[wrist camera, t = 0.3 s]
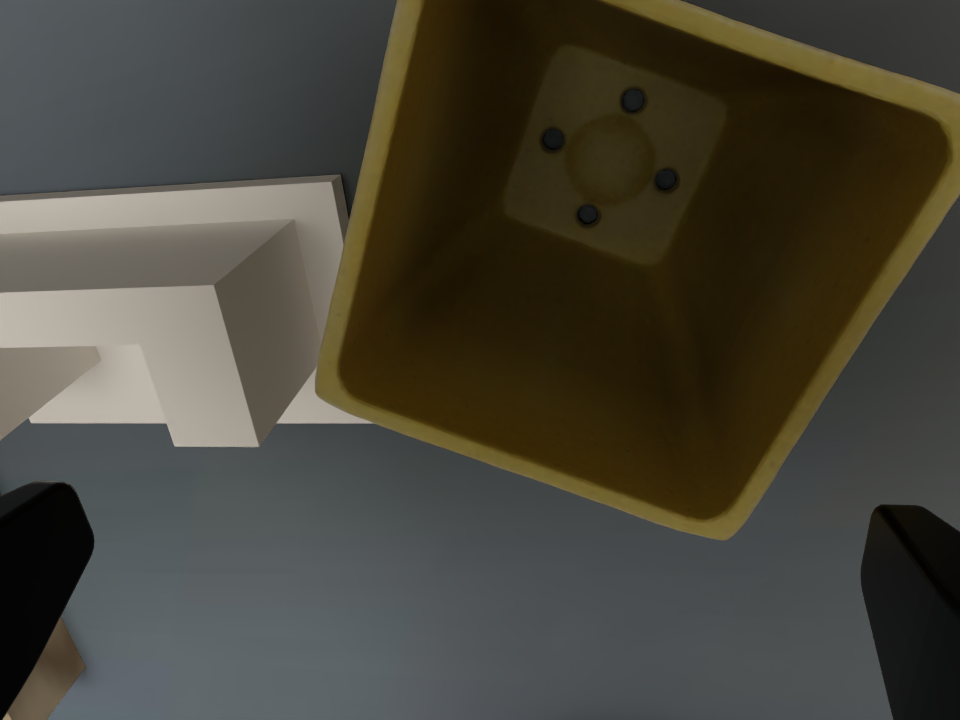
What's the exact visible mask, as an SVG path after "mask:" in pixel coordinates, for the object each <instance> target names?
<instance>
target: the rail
mask: <svg viewBox="0 0 960 720" xmlns="http://www.w3.org/2000/svg"><path fill="white" fill-rule="evenodd" d="M0 496H1V494H0ZM84 668H85V665H84V663H83V661H82V659H81V657H80V655H79V653H78V651H77V648H76V646H75V644H74V642H73V640H72V638H71V636H70V634H69V632H68V630H67V628H66V626H65V624H64V622H63V620H62V618H61V617H60V619H59V621H58V623H57V625H56V627H55V629H54V631H53V633H52V635H51V637H50V639H49V641H48V643H47V645H46V647H45V649H44V650H43V652H42V654H41V656H40V658H39V660H38V662H37V664H36V665H35V667H34V669H33V671H32V673H31V674H30V676H29V678H28V679H27V681H26V683H25V684H24V686H23V688H22V689H21V691H20V693H19V694H18V696H17V698H16V699H15V701H14V702H13V704H12V706H11V707H10V709H9V710H8V712H7V714H6V715H5V717H4V718H3V720H47V718H48V717H49V716H50V714H51V713H52V712H53V710H54V709H55V708H56V706H57V705H58V704H59V702H60V701H61V700H62V698H63V697H64V696H65V694H66V693H67V691H68V690H69V689H70V687H71V686H72V685H73V683H74V682H75V681H76V679H77V678H78V677H79V675H80V674H81V673H82V671H83V670H84Z"/></svg>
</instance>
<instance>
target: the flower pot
mask: <svg viewBox="0 0 960 720" xmlns="http://www.w3.org/2000/svg"><path fill="white" fill-rule="evenodd" d="M631 89H637V90H639V91H641V93H642V94H643V96H644V104H643V106H642V107H641V108H640V109H639V110H638V111H636V112H629V111H627V110H625V108H624V107H623V105H622V98H623V95H624V94H625V93H626V92H627V91H628V90H631ZM551 129H556V130H558V131H560V132H561V133H562V135H563V138H564V142H563V145H562V147H560V148H559V149H557V150H549V149H548V148H546V147H545V145H544V143H543V136H544V134H545V132H547V131H548V130H551ZM665 169H669V170H672V171H674V172H675V174H676V177H677V180H676V183H675V185H674V186H673V187H672V188H671V189H668V190H661V189H659V188H658V187H657V185H656V181H655V178H656V176H657V174H658V173H659V172H660V171H662V170H665ZM959 195H960V94H958V93H955V92H952V91H950V90H947V89H945V88H942V87H938V86H935V85H932V84H929V83H926V82H923V81H920V80H917V79H914V78H911V77H908V76H904V75H901V74H898V73H894V72H891V71H888V70H885V69H881V68H878V67H875V66H872V65H868V64H865V63H862V62H859V61H856V60H853V59H850V58H846V57H843V56H840V55H837V54H834V53H831V52H828V51H825V50H822V49H819V48H816V47H813V46H810V45H807V44H804V43H801V42H798V41H795V40H792V39H789V38H785V37H782V36H779V35H777V34H774V33H771V32H768V31H765V30H763V29H760V28H757V27H754V26H751V25H748V24H745V23H742V22H739V21H736V20H733V19H730V18H727V17H725V16H722V15H720V14H717V13H714V12H712V11H709V10H706V9H703V8H701V7H698V6H695V5H692V4H690V3H687V2H684V1H681V0H397V2H396V7H395V12H394V16H393V20H392V25H391V30H390V35H389V40H388V45H387V50H386V53H385V57H384V61H383V68H382V72H381V77H380V82H379V87H378V92H377V96H376V101H375V106H374V111H373V115H372V120H371V125H370V130H369V135H368V139H367V143H366V148H365V152H364V157H363V161H362V165H361V170H360V175H359V179H358V184H357V189H356V193H355V198H354V202H353V206H352V210H351V215H350V219H349V223H348V228H347V232H346V236H345V240H344V246H343V251H342V256H341V261H340V265H339V269H338V274H337V278H336V283H335V287H334V291H333V294H332V298H331V302H330V307H329V312H328V317H327V322H326V327H325V331H324V335H323V339H322V343H321V348H320V352H319V357H318V362H317V370H316V376H315V393H316V395H317V396H318V397H319V398H320V399H322V400H323V401H325V402H326V403H328V404H330V405H332V406H334V407H336V408H338V409H340V410H342V411H344V412H346V413H349V414H351V415H353V416H356V417H359V418H362V419H365V420H368V421H370V422H373V423H375V424H377V425H380V426H382V427H385V428H388V429H391V430H393V431H396V432H399V433H401V434H404V435H406V436H409V437H412V438H415V439H418V440H421V441H424V442H426V443H429V444H433V445H436V446H439V447H442V448H445V449H448V450H451V451H453V452H456V453H459V454H462V455H465V456H468V457H470V458H473V459H476V460H479V461H482V462H484V463H487V464H490V465H492V466H495V467H498V468H500V469H503V470H506V471H510V472H513V473H516V474H519V475H522V476H525V477H528V478H531V479H534V480H537V481H540V482H543V483H546V484H549V485H551V486H554V487H557V488H559V489H562V490H565V491H568V492H570V493H573V494H576V495H578V496H581V497H584V498H587V499H589V500H593V501H596V502H599V503H602V504H605V505H608V506H611V507H613V508H616V509H619V510H621V511H624V512H626V513H629V514H632V515H634V516H637V517H639V518H642V519H645V520H648V521H650V522H653V523H656V524H659V525H662V526H666V527H669V528H672V529H675V530H678V531H682V532H686V533H690V534H695V535H699V536H703V537H707V538H712V539H717V540H727V539H729V538H730V537H732V536H733V535H734V534H735V533H736V532H737V531H738V530H739V529H740V528H741V527H742V526H743V524H744V523H745V522H746V521H747V519H748V518H749V516H750V515H751V513H752V512H753V510H754V509H755V507H756V506H757V504H758V503H759V501H760V500H761V498H762V497H763V495H764V493H765V492H766V490H767V489H768V487H769V486H770V485H771V483H772V482H773V480H774V478H775V476H776V475H777V473H778V471H779V470H780V468H781V466H782V465H783V463H784V462H785V460H786V458H787V457H788V455H789V453H790V451H791V450H792V448H793V447H794V446H795V444H796V443H797V441H798V440H799V438H800V437H801V435H802V433H803V432H804V430H805V429H806V427H807V426H808V424H809V423H810V421H811V419H812V418H813V416H814V415H815V413H816V411H817V410H818V408H819V407H820V405H821V403H822V402H823V400H824V399H825V397H826V395H827V394H828V392H829V391H830V389H831V388H832V386H833V385H834V383H835V382H836V380H837V378H838V377H839V375H840V373H841V372H842V370H843V369H844V367H845V366H846V365H847V363H848V362H849V360H850V359H851V357H852V356H853V354H854V352H855V351H856V349H857V348H858V346H859V345H860V343H861V342H862V340H863V339H864V337H865V336H866V334H867V332H868V331H869V329H870V328H871V326H872V325H873V323H874V322H875V320H876V319H877V317H878V316H879V314H880V313H881V311H882V310H883V308H884V307H885V305H886V304H887V302H888V301H889V299H890V298H891V296H892V295H893V294H894V292H895V291H896V289H897V288H898V286H899V285H900V284H901V282H902V281H903V279H904V278H905V276H906V275H907V273H908V272H909V270H910V269H911V268H912V266H913V264H914V262H915V261H916V259H917V258H918V256H919V255H920V254H921V252H922V251H923V249H924V248H925V246H926V244H927V243H928V241H929V240H930V239H931V237H932V236H933V234H934V233H935V231H936V230H937V228H938V227H939V225H940V224H941V222H942V221H943V219H944V217H945V216H946V214H947V213H948V211H949V210H950V208H951V207H952V205H953V204H954V203H955V201H956V200H957V198H958V197H959ZM586 205H591V206H593V207H595V208H596V209H597V211H598V218H597V220H596V221H595V222H593V223H591V224H584V223H582V222H581V221H580V220H579V219H578V211H579V209H580V208H581V207H583V206H586Z"/></svg>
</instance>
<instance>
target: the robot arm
mask: <svg viewBox="0 0 960 720" xmlns="http://www.w3.org/2000/svg"><path fill="white" fill-rule="evenodd" d="M93 549H94V534H93V531H92V529H91V526H90V524H89V521H88V519H87V517H86V514H85V512H84V509H83V507H82V504H81V502H80V500H79V497H78V495H77V492H76V491H75V489H74V488H73V487H72V486H71V485H70V484H68V483H66V482H62V481H35V482H31V483H28V484H26V485H24V486H21V487H19V488H17V489H15V490H12V491H10V492H8V493H6V494H4V495H1V496H0V720H3V718H4V717H5V715H6V714H7V712H8V710H9V709H10V707H11V706H12V704H13V702H14V701H15V699H16V698H17V696H18V694H19V693H20V691H21V689H22V688H23V686H24V684H25V683H26V681H27V679H28V678H29V676H30V674H31V673H32V671H33V669H34V667H35V665H36V664H37V662H38V660H39V658H40V656H41V654H42V652H43V650H44V649H45V647H46V645H47V643H48V641H49V639H50V637H51V635H52V633H53V631H54V629H55V627H56V625H57V623H58V621H59V619H60V617H61V615H62V613H63V611H64V609H65V607H66V605H67V603H68V601H69V599H70V597H71V595H72V593H73V591H74V589H75V587H76V585H77V583H78V581H79V579H80V577H81V575H82V573H83V571H84V569H85V567H86V565H87V563H88V561H89V560H90V557H91V555H92V552H93ZM861 586H862V592H863V596H864V600H865V605H866V609H867V613H868V617H869V621H870V625H871V629H872V634H873V638H874V642H875V646H876V650H877V654H878V659H879V663H880V667H881V671H882V675H883V679H884V684H885V688H886V692H887V696H888V700H889V704H890V708H891V713H892V716H893V720H960V532H959V531H958V530H956V529H955V528H953V527H952V526H951V525H949V524H948V523H946V522H945V521H943V520H942V519H940V518H939V517H938V516H936V515H935V514H933V513H932V512H930V511H929V510H927V509H925V508H924V507H921V506H917V505H886V504H883V505H880V506H878V507H876V508H875V509H874V511H873V513H872V515H871V519H870V524H869V529H868V534H867V539H866V544H865V549H864V554H863V559H862V565H861Z"/></svg>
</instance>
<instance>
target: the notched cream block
mask: <svg viewBox="0 0 960 720" xmlns="http://www.w3.org/2000/svg"><path fill="white" fill-rule="evenodd" d="M348 223H349V218H348V212H347V207H346V201H345V196H344V191H343V185H342V180H341V174H339V175H323V176H307V177H291V178H275V179H259V180H243V181H227V182H211V183H195V184H179V185H163V186H147V187H131V188H115V189H99V190H83V191H67V192H51V193H35V194H19V195H3V196H0V440H1V439H2V438H4V437H5V436H6V435H7V434H9V433H10V432H11V431H13V430H14V429H15V428H16V427H18V426H19V425H20V424H21V423H23V422H24V421H25V420H26V419H28V418H29V420H30V422H31V423H167V426H168V429H169V432H170V435H171V437H172V440H173V443H174V446H183V447H260V445H261V444H262V442H263V441H264V440H265V438H266V437H267V435H268V434H269V433H270V431H271V430H272V428H273V427H274V426H275V424H276V423H373V422H370V421H368V420H365V419H362V418H359V417H356V416H353V415H351V414H349V413H346V412H344V411H342V410H340V409H338V408H336V407H334V406H332V405H330V404H328V403H326V402H325V401H323V400H322V399H320V398H319V397H318V396H317V395H316V393H315V376H316V370H317V362H318V357H319V352H320V348H321V343H322V339H323V335H324V331H325V327H326V322H327V317H328V312H329V307H330V302H331V298H332V294H333V291H334V287H335V283H336V278H337V274H338V269H339V265H340V261H341V256H342V251H343V246H344V240H345V236H346V232H347V228H348Z"/></svg>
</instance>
